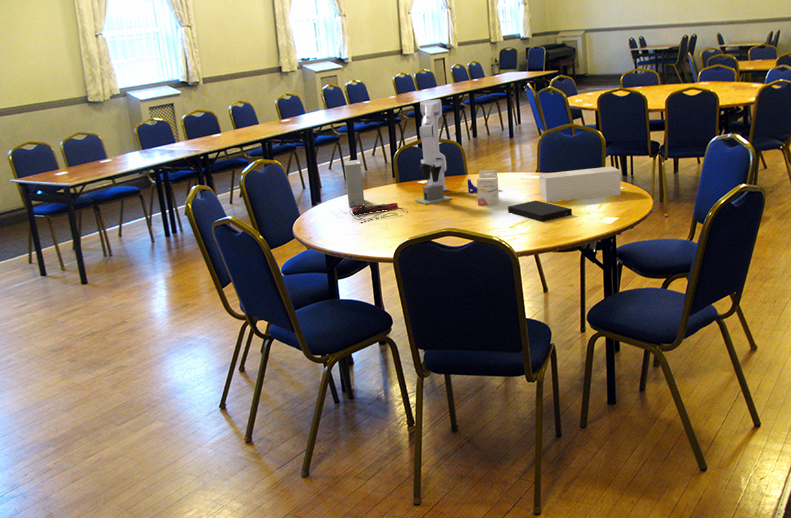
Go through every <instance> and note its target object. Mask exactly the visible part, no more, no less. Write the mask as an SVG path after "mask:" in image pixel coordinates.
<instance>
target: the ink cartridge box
mask: <svg viewBox="0 0 791 518" xmlns="http://www.w3.org/2000/svg"><path fill="white" fill-rule="evenodd" d="M498 179H499V177H498V171H497V169H485V170H484V169H483V170H479V171H478V178H476V187H477V192H476V194H477V205H478V206H498V204H499V203H500V198H499V180H498Z"/></svg>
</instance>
